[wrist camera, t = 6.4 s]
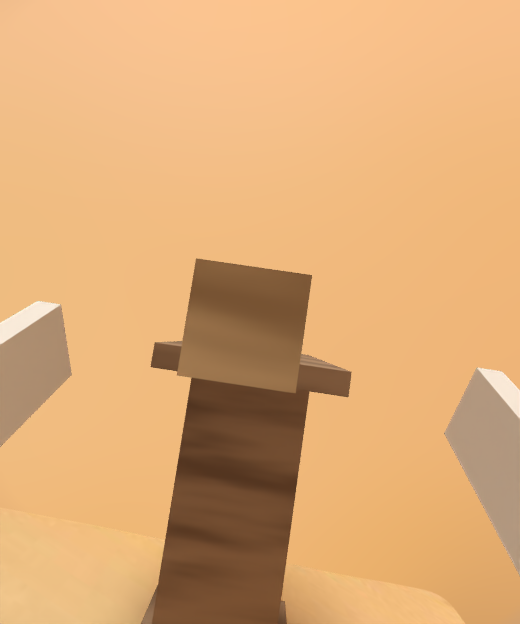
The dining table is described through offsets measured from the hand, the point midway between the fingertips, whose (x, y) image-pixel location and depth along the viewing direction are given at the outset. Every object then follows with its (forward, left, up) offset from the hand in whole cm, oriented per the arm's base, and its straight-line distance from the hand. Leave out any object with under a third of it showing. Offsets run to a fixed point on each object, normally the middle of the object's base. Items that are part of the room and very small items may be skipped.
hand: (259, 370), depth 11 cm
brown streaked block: (-5, +12, 0) cm, 12 cm away
